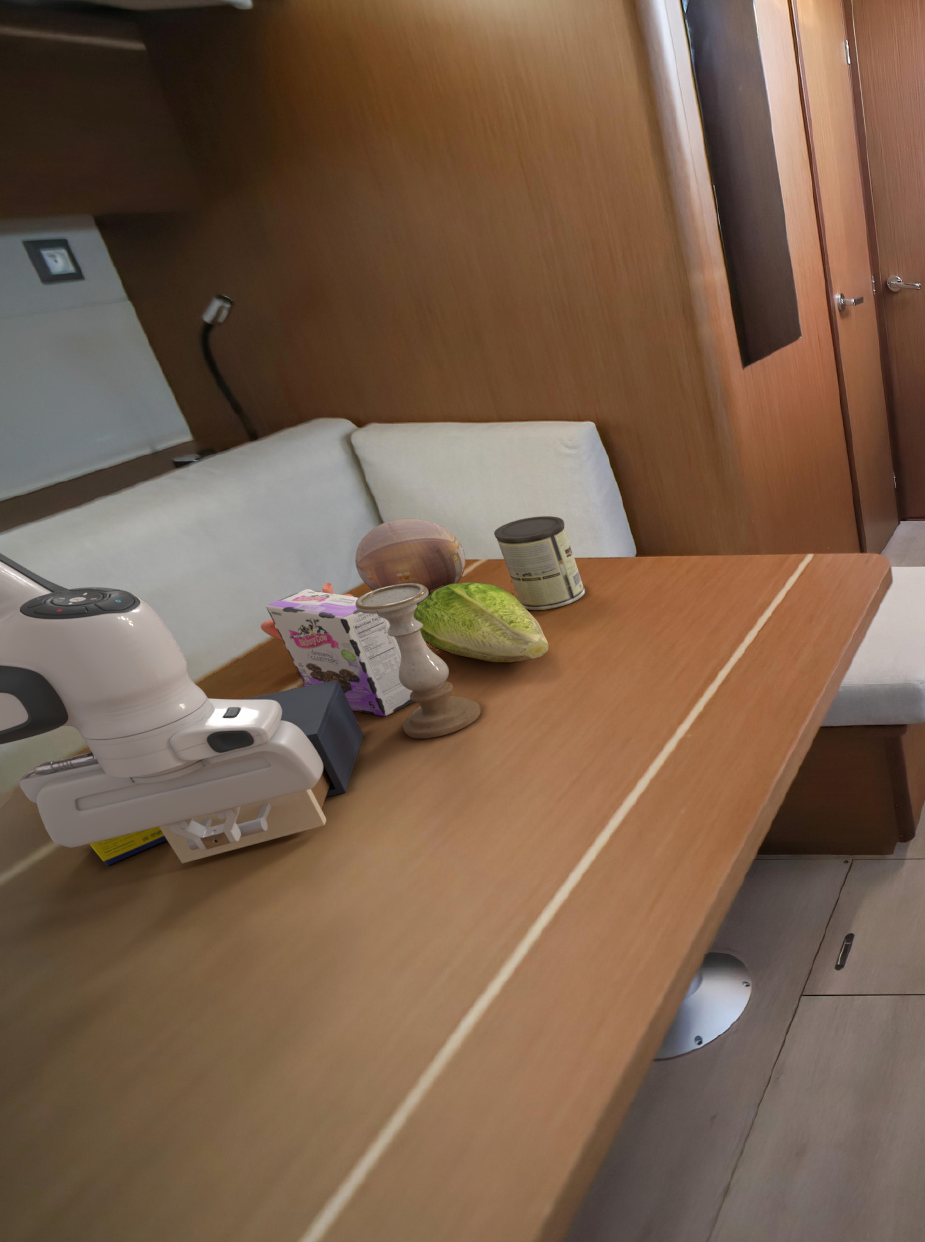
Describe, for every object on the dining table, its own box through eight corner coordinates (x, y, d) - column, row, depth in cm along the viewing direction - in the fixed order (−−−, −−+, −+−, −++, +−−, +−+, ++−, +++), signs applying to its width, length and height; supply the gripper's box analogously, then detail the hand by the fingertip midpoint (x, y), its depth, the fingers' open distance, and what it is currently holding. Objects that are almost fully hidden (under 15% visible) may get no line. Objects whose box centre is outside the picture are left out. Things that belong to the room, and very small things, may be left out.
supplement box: (161, 819, 108) (115, 745, 103) (178, 837, 105) (131, 762, 100) (90, 848, 103) (38, 772, 98) (106, 867, 100) (53, 790, 95)
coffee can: (515, 595, 163) (490, 524, 156) (580, 581, 168) (558, 511, 162) (523, 616, 155) (497, 542, 149) (590, 600, 161) (568, 528, 155)
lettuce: (478, 666, 130) (535, 594, 135) (382, 622, 139) (438, 556, 144) (543, 697, 141) (594, 630, 145) (449, 654, 149) (500, 592, 154)
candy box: (311, 704, 130) (261, 604, 123) (352, 683, 135) (307, 587, 128) (385, 718, 127) (339, 616, 120) (424, 696, 132) (382, 598, 125)
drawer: (317, 849, 102) (290, 799, 99) (168, 890, 96) (134, 838, 93) (344, 765, 116) (321, 719, 113) (215, 797, 110) (187, 749, 107)
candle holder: (412, 713, 128) (357, 587, 119) (485, 699, 132) (437, 575, 123) (398, 745, 121) (339, 614, 112) (476, 729, 125) (424, 601, 116)
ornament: (495, 579, 168) (468, 505, 162) (442, 616, 155) (411, 537, 148) (412, 581, 167) (382, 506, 161) (352, 618, 154) (317, 538, 147)
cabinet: (346, 792, 112) (316, 733, 108) (199, 830, 106) (162, 768, 102) (364, 734, 123) (337, 679, 119) (232, 765, 117) (199, 708, 113)
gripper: (-7, 788, 83) (72, 898, 89) (283, 724, 92) (336, 827, 99) (24, 753, 87) (97, 859, 94) (296, 696, 97) (346, 796, 103)
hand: (222, 842), depth 96 cm, fingers closed
